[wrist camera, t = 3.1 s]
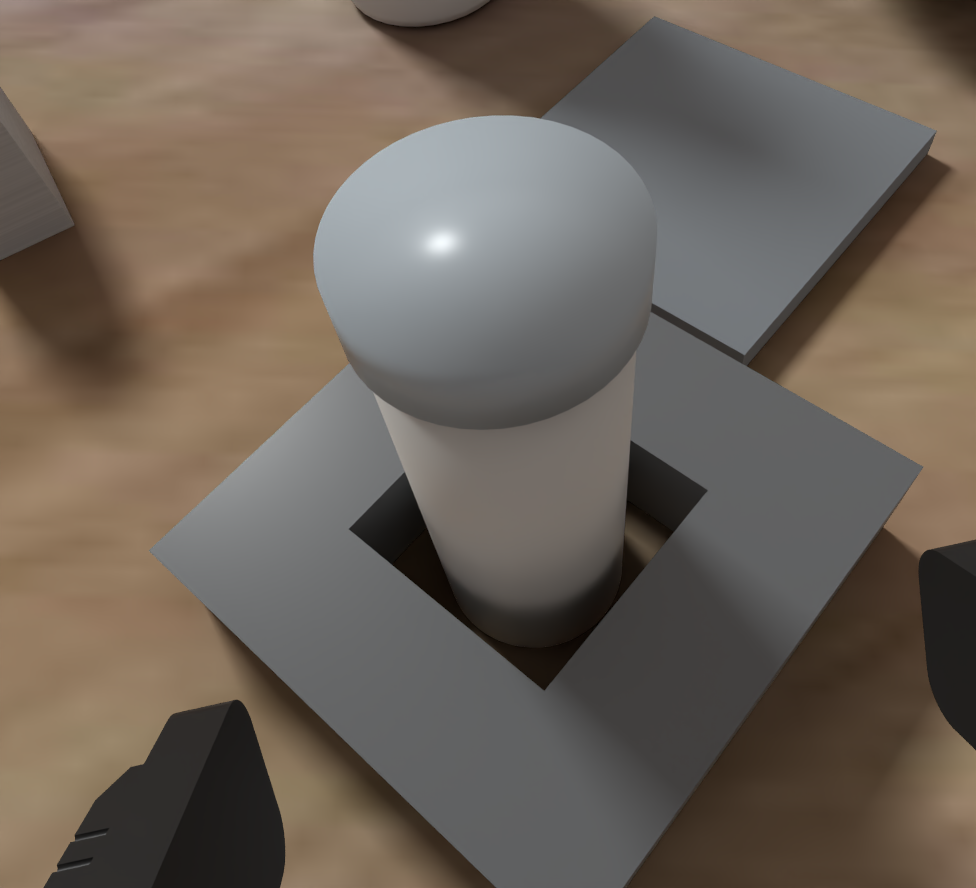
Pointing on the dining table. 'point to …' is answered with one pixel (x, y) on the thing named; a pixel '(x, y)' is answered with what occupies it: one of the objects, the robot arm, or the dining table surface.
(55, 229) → the white paper packet
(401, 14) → the milk bottle
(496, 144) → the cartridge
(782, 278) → the mat
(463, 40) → the dining table surface
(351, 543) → the housing
